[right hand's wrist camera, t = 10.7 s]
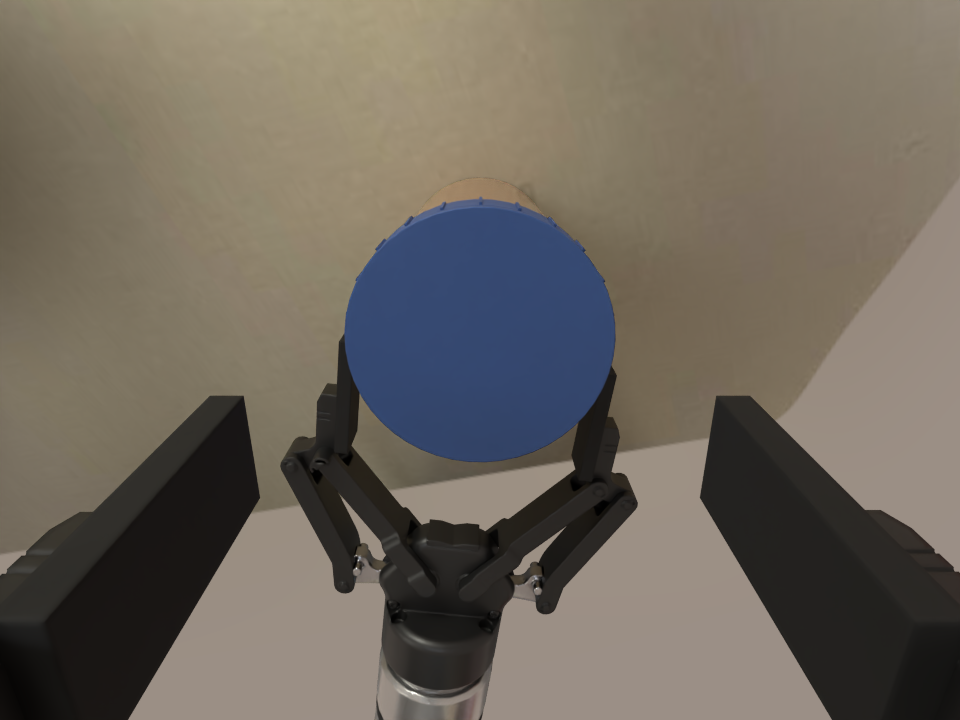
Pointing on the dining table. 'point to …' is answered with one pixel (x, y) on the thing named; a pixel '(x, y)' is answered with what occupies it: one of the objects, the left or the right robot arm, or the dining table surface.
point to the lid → (480, 331)
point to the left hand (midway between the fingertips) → (479, 348)
